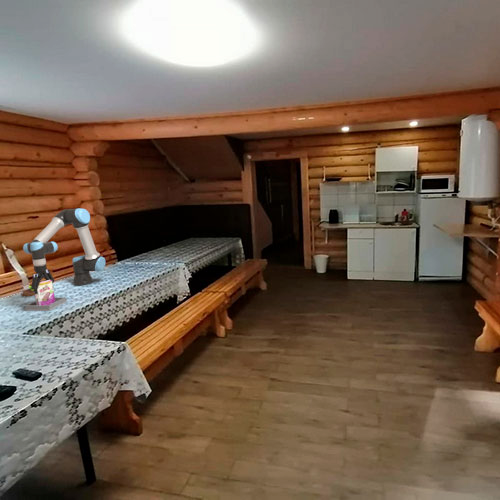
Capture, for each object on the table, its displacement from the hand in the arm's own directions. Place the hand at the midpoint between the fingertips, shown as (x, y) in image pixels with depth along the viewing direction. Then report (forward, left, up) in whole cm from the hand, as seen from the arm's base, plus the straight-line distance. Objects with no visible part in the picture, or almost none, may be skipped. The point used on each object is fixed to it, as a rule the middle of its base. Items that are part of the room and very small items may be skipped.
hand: (45, 295), depth 261 cm
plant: (-34, -34, -8) cm, 49 cm away
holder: (0, 0, -8) cm, 8 cm away
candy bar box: (0, 0, -7) cm, 7 cm away
